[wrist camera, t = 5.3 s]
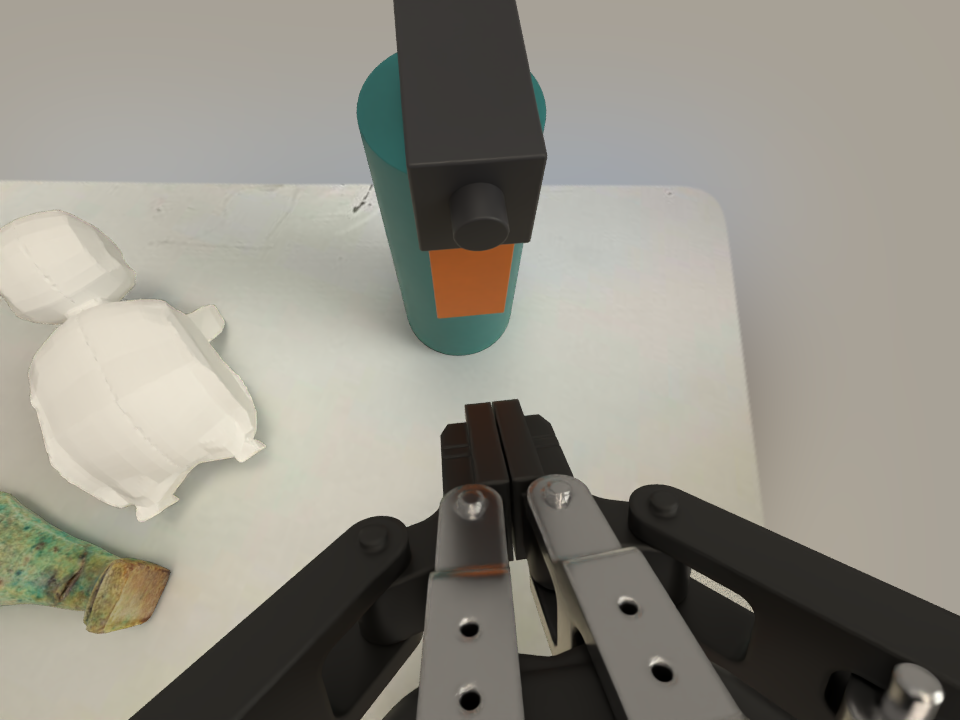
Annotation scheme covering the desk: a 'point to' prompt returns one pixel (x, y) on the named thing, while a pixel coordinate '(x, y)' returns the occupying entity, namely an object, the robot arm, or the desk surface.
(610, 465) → the desk surface
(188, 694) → the robot arm
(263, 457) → the desk surface
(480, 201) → the spray bottle
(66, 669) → the desk surface
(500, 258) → the spray trigger
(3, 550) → the figurine
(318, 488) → the desk surface
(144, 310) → the penguin
